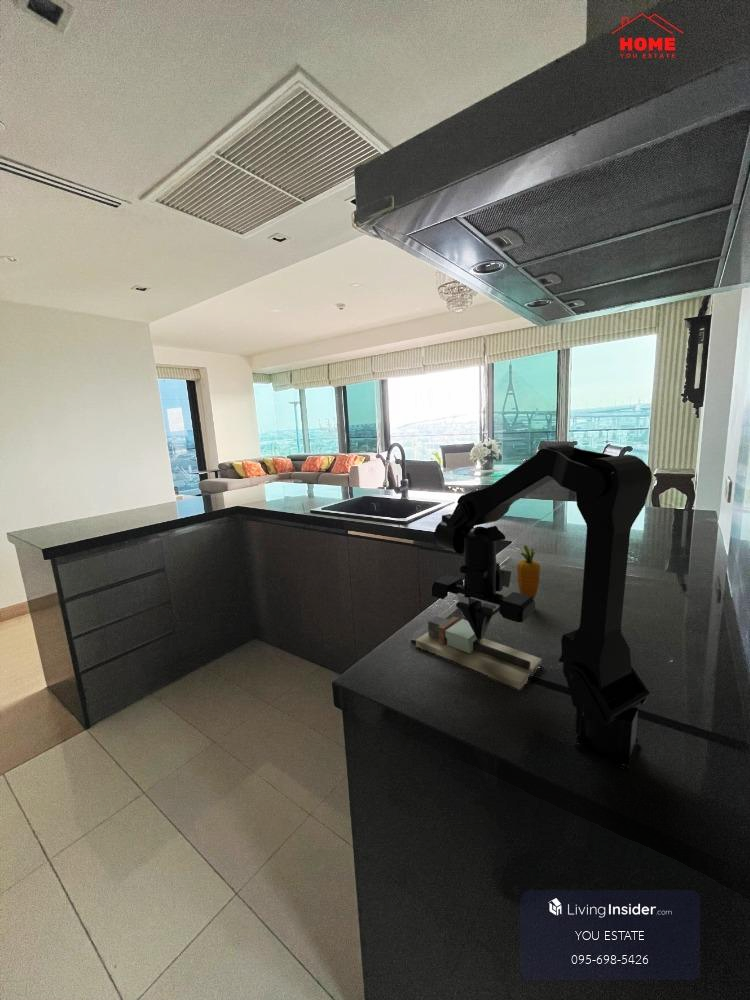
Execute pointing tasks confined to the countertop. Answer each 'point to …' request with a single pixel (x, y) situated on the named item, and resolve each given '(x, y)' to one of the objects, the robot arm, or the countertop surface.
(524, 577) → the carrot
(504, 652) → the board
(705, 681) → the countertop surface
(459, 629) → the pale green slider block
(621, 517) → the robot arm
